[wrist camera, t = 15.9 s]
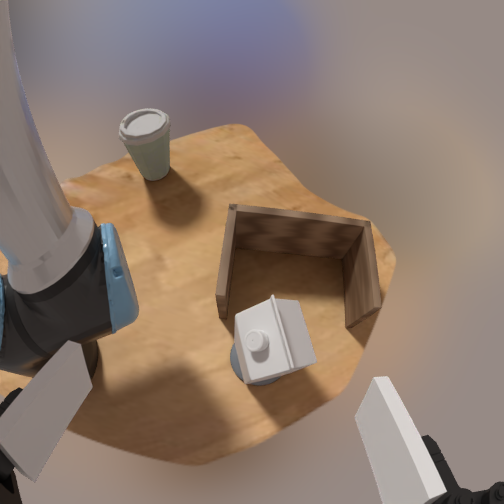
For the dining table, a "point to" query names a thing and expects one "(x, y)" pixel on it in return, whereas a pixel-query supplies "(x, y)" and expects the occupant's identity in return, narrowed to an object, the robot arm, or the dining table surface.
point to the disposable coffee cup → (147, 141)
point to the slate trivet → (237, 368)
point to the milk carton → (272, 340)
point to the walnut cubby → (305, 251)
